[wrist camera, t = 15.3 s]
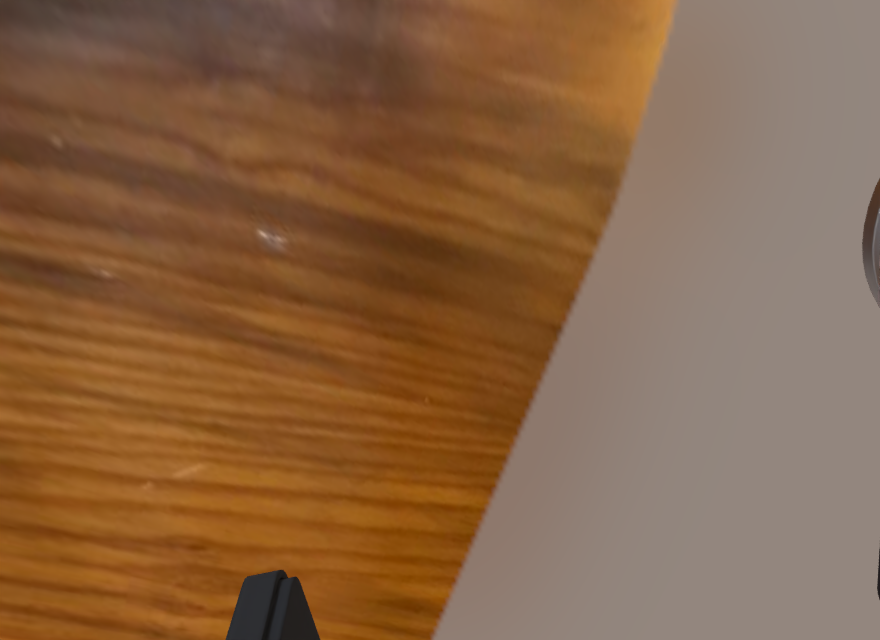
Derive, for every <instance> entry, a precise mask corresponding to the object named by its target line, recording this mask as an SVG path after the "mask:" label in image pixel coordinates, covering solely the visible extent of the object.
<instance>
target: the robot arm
mask: <svg viewBox="0 0 880 640" xmlns="http://www.w3.org/2000/svg"><path fill="white" fill-rule="evenodd" d="M877 589H878V595H879V599H880V551H879V568H878V586H877ZM226 640H320V638H319V635H318V632H317V629H316V626H315V624H314V621H313V618H312V615H311V612H310V609H309V606H308V604H307V601H306V598H305V595H304V592H303V589H302V586H301V583H300V581H299V579H298V578H297V577H292V578H288V577H287V575H286V573H285V572H284V571H283V570H278V571H273V572H268V573H263V574H258V575H253V576H248V577H247V578H245V580H244V582H243V585H242V588H241V591H240V594H239V598H238V601H237V604H236V608H235V611H234V614H233V617H232V621H231V624H230V627H229V630H228V634H227V637H226Z"/></svg>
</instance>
